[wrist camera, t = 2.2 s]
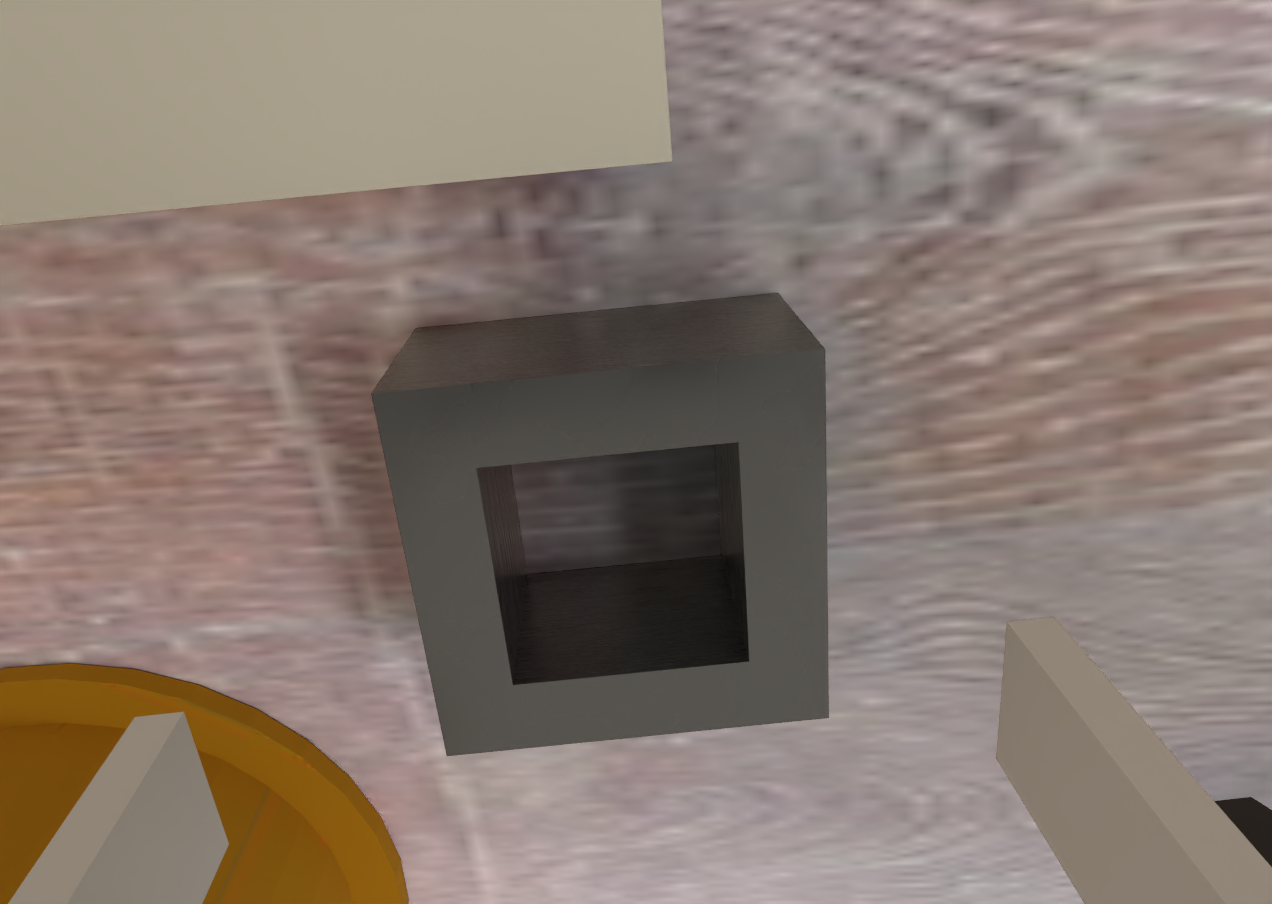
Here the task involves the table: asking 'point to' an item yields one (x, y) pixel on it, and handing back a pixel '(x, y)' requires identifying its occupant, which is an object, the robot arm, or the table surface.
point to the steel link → (625, 594)
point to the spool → (235, 770)
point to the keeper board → (315, 97)
